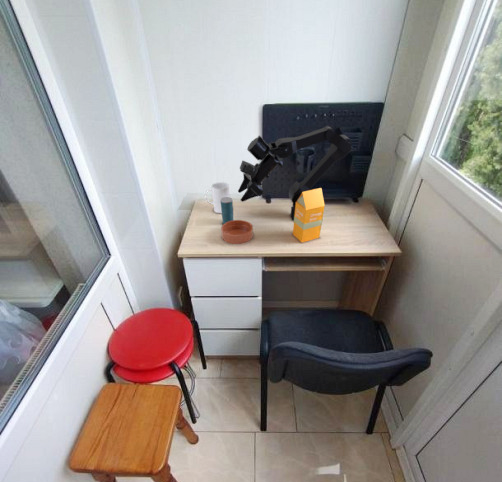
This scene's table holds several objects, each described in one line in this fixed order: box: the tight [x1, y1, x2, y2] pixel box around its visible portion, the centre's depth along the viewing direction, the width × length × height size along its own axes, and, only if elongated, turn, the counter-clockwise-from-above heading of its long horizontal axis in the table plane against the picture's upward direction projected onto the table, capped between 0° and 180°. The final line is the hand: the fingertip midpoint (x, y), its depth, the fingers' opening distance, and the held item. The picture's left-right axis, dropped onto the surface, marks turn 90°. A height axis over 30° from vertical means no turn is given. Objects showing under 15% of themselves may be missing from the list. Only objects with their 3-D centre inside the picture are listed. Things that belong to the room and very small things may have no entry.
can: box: [221, 196, 235, 225], centre depth 127 cm, size 5×5×12 cm
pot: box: [220, 219, 254, 245], centre depth 121 cm, size 13×13×4 cm
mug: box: [204, 181, 230, 214], centre depth 137 cm, size 12×8×12 cm
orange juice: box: [292, 187, 326, 243], centre depth 115 cm, size 8×9×20 cm
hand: (239, 196), depth 123 cm, fingers open, 9 cm apart
